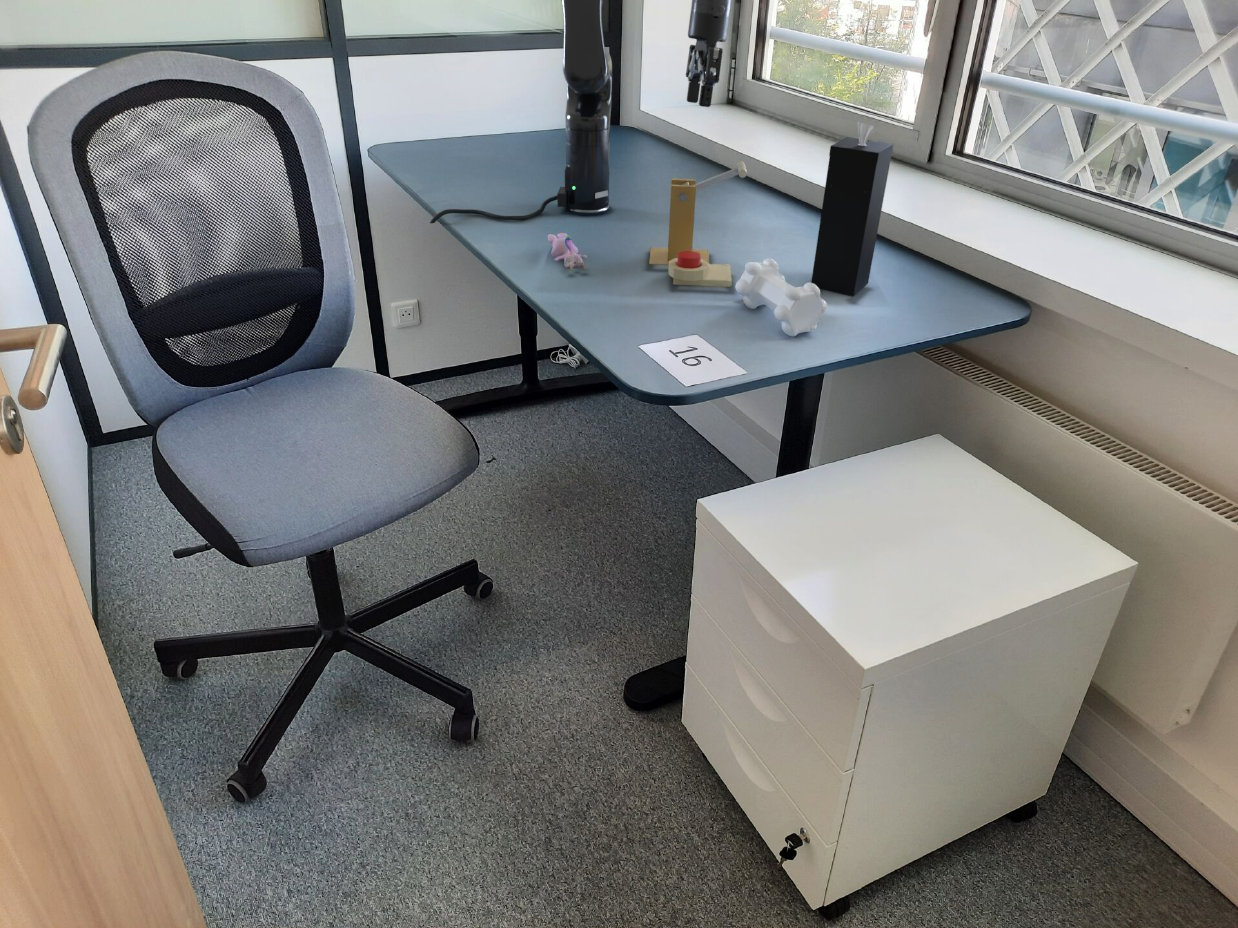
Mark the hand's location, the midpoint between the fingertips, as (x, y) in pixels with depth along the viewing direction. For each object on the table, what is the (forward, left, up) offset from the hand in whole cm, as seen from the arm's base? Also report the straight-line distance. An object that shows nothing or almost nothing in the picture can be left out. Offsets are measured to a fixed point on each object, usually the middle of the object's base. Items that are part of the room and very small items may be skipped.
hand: (698, 104), depth 173 cm
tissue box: (+26, -36, -23) cm, 50 cm away
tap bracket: (-2, -25, -23) cm, 35 cm away
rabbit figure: (-23, -28, -24) cm, 43 cm away
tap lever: (+3, -25, -9) cm, 27 cm away
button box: (+2, -35, -23) cm, 42 cm away
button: (-1, -37, -20) cm, 42 cm away
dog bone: (+14, -50, -24) cm, 57 cm away
